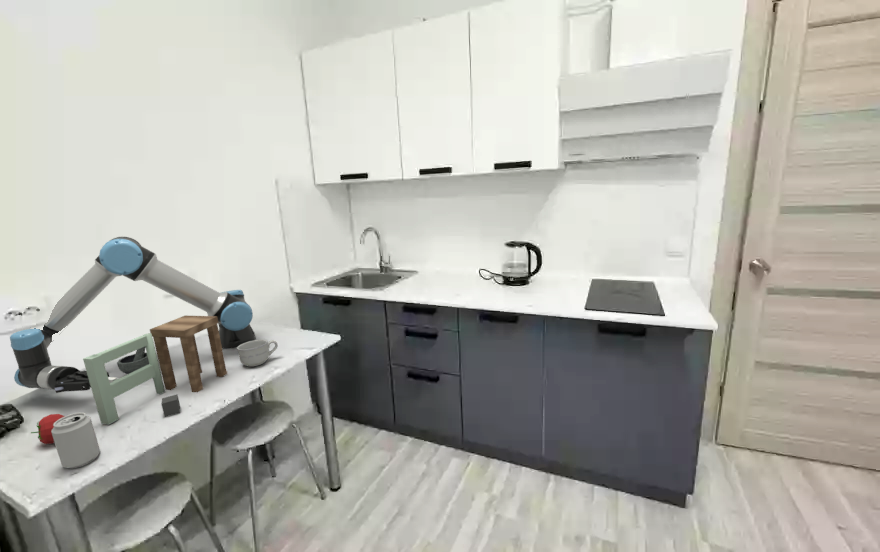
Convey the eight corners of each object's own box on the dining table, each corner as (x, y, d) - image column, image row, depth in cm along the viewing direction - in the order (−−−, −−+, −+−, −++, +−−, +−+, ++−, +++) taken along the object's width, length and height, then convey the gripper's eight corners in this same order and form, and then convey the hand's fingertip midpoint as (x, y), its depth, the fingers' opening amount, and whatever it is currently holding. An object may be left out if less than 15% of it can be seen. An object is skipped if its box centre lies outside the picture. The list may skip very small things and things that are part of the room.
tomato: (68, 405, 116) (30, 413, 110) (72, 429, 112) (33, 438, 106) (65, 420, 119) (28, 429, 113) (69, 444, 116) (31, 454, 110)
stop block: (165, 411, 126) (162, 398, 125) (180, 407, 128) (177, 394, 127) (164, 417, 122) (161, 403, 121) (180, 412, 124) (177, 399, 123)
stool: (196, 371, 153) (184, 315, 148) (228, 373, 149) (217, 316, 144) (163, 390, 140) (149, 329, 135) (197, 393, 136) (184, 330, 131)
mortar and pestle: (136, 381, 147) (128, 350, 145) (115, 381, 149) (106, 350, 146) (162, 367, 158) (155, 338, 155) (141, 367, 160) (134, 338, 157)
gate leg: (160, 390, 139) (146, 333, 134) (167, 390, 138) (154, 333, 134) (101, 423, 120) (82, 358, 116) (109, 424, 120) (91, 359, 115)
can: (103, 458, 105) (91, 416, 102) (64, 475, 99) (51, 431, 97) (97, 447, 110) (86, 407, 107) (60, 462, 104) (47, 420, 102)
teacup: (237, 371, 151) (234, 351, 149) (243, 360, 161) (239, 340, 159) (278, 365, 154) (274, 345, 152) (280, 354, 164) (277, 335, 162)
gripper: (84, 379, 140) (138, 383, 134) (40, 398, 128) (97, 404, 122) (78, 358, 138) (133, 362, 132) (33, 376, 126) (91, 381, 120)
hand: (116, 382), depth 127 cm, fingers closed
